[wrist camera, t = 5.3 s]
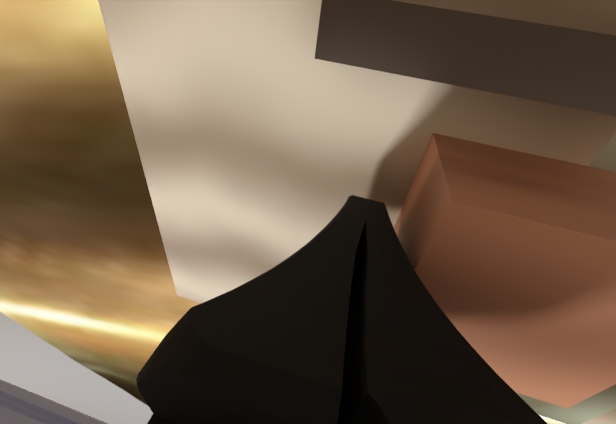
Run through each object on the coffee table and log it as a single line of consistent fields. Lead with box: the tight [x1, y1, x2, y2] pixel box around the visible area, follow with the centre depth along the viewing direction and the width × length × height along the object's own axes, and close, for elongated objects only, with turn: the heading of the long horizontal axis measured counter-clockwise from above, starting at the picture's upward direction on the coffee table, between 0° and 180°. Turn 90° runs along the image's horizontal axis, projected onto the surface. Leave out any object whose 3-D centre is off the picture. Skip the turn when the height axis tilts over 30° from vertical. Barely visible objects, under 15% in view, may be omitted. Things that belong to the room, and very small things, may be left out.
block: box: [394, 133, 616, 409], centre depth 9 cm, size 6×6×4 cm
